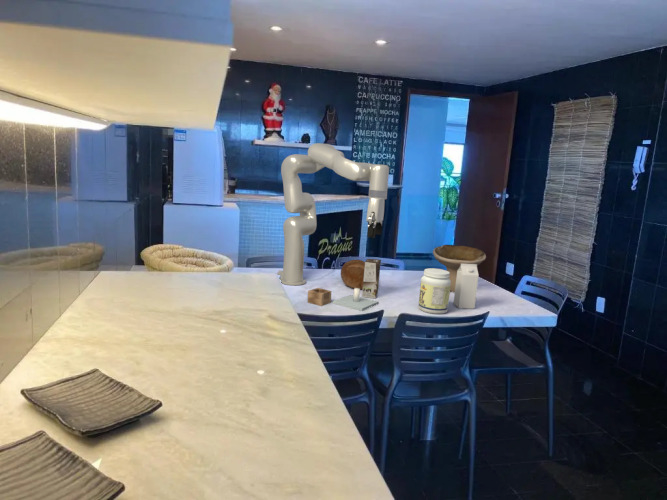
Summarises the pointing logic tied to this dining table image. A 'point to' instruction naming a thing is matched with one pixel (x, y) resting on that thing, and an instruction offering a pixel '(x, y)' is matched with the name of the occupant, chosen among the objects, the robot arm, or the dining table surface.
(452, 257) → the bowl
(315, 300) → the collar
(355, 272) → the bread
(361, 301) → the post plate
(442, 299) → the supplement tub
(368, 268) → the coffee box
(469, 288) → the milk carton
